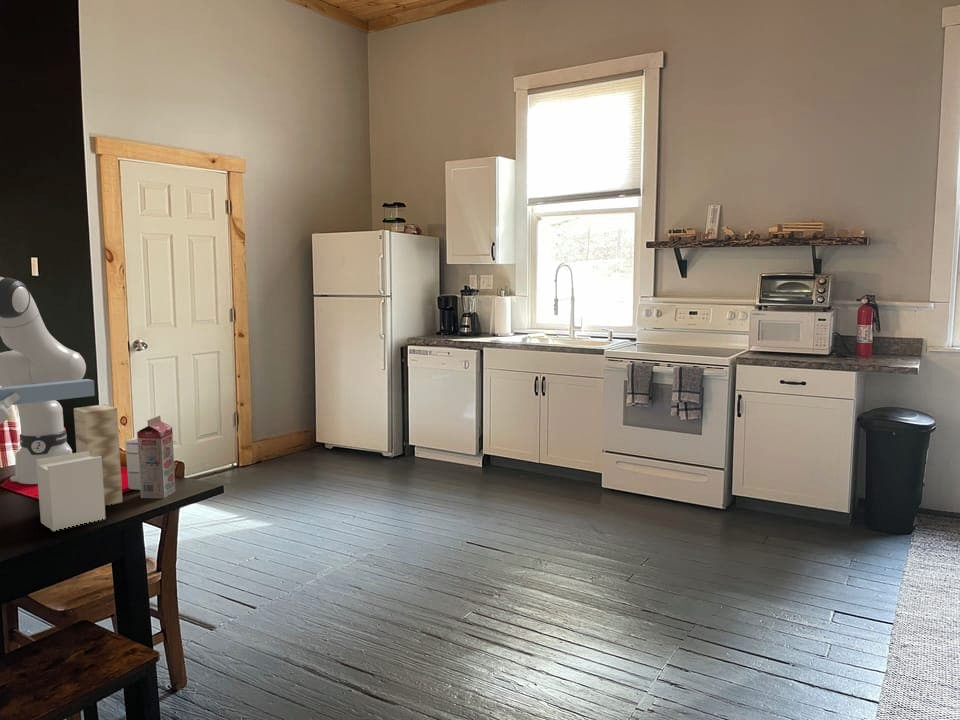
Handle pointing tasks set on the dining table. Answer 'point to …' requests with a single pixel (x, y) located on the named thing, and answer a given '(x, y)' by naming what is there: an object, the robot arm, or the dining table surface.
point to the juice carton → (156, 459)
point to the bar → (49, 391)
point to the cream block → (70, 490)
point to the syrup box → (133, 463)
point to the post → (101, 445)
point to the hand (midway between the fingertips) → (14, 393)
